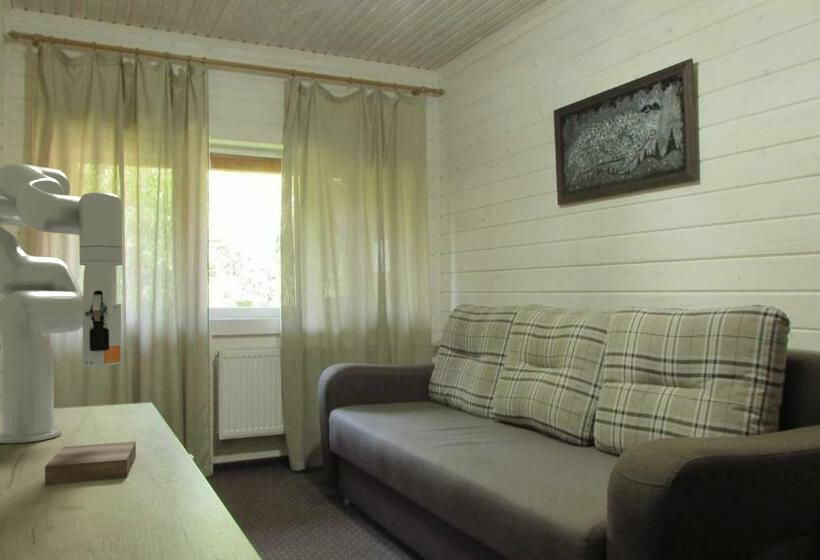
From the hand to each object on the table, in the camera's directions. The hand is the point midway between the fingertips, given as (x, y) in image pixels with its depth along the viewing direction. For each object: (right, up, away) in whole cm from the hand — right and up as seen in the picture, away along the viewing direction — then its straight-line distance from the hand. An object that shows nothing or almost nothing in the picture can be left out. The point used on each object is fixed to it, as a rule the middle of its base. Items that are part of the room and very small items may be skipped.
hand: (102, 348), depth 122 cm
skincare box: (0, -4, 0) cm, 4 cm away
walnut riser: (+5, -20, -12) cm, 24 cm away
